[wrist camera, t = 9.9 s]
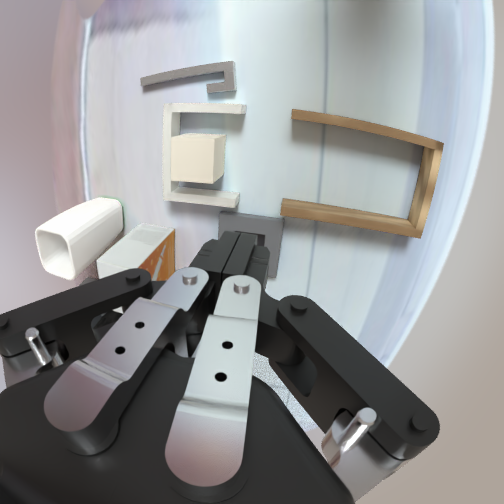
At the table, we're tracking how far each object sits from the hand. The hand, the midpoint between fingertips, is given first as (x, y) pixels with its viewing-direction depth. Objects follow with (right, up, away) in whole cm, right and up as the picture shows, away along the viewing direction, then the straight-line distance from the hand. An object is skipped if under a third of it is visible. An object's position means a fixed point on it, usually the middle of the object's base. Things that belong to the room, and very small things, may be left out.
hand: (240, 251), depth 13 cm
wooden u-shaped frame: (+14, +11, +22) cm, 28 cm away
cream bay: (-6, +14, +24) cm, 28 cm away
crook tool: (-8, +23, +20) cm, 31 cm away
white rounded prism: (-23, +7, +31) cm, 39 cm away
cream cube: (-6, +13, +24) cm, 28 cm away
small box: (-15, +1, +33) cm, 36 cm away
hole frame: (0, +1, +30) cm, 30 cm away
